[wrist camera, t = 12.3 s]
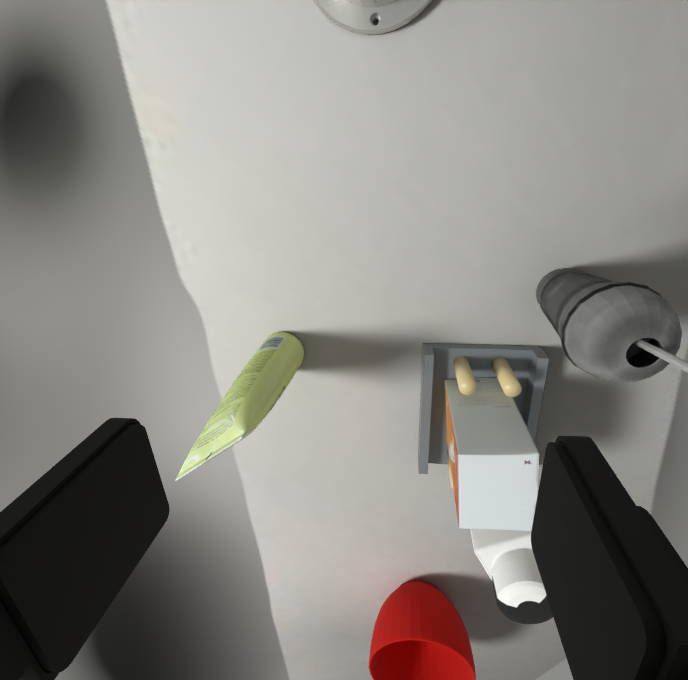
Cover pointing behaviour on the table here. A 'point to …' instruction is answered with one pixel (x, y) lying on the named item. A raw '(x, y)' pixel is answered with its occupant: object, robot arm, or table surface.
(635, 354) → the beverage cup
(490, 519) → the small box
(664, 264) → the table surface
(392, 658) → the ceramic cup
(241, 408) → the tube
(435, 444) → the pin tray
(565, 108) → the table surface
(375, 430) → the table surface
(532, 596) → the medicine bottle
